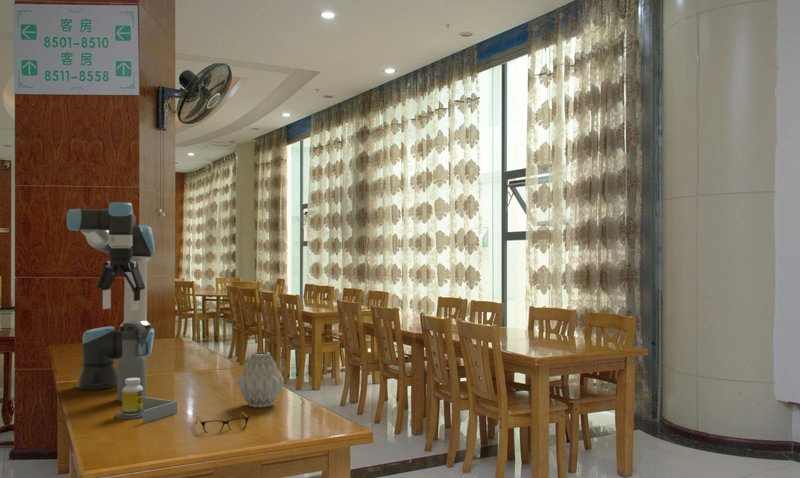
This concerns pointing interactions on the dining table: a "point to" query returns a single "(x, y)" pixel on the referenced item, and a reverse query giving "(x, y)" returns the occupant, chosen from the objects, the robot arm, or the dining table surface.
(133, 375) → the water bottle
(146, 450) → the dining table surface
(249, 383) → the vase
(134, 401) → the pill bottle
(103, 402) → the dining table surface
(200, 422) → the eyeglasses
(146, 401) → the fence long
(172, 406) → the fence end
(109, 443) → the dining table surface
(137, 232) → the robot arm
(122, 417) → the coaster
